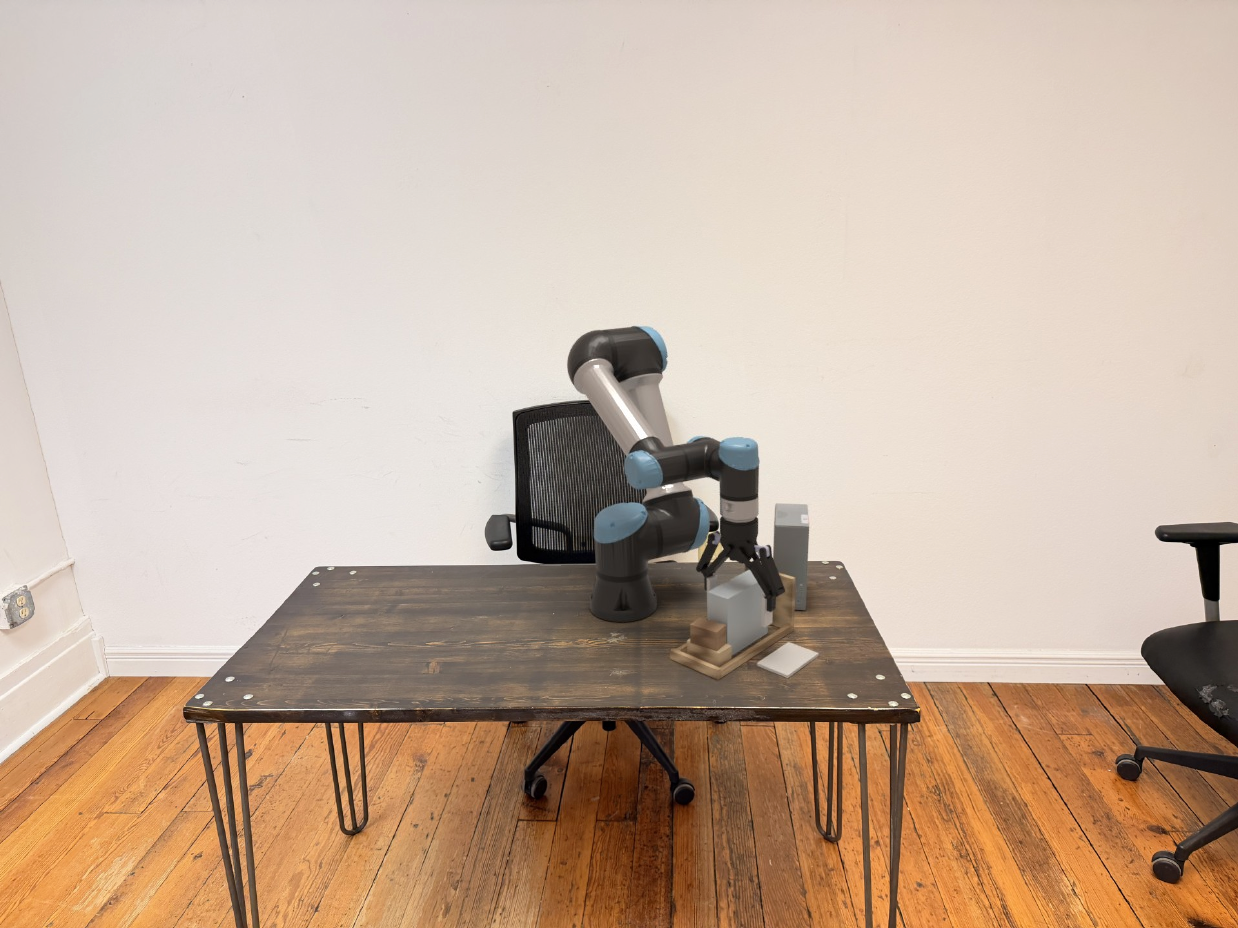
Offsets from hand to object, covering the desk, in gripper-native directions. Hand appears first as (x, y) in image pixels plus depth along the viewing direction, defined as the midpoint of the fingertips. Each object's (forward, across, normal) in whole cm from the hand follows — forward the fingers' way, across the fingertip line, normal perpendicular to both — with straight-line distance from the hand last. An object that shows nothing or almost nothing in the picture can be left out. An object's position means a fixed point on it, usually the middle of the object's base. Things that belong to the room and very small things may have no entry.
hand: (738, 614), depth 167 cm
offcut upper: (+2, 0, -10) cm, 10 cm away
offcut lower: (+6, 0, -10) cm, 12 cm away
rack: (+6, 0, -1) cm, 6 cm away
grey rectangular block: (+6, 0, 0) cm, 6 cm away
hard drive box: (+6, -4, +25) cm, 26 cm away
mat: (+6, +12, 0) cm, 13 cm away
